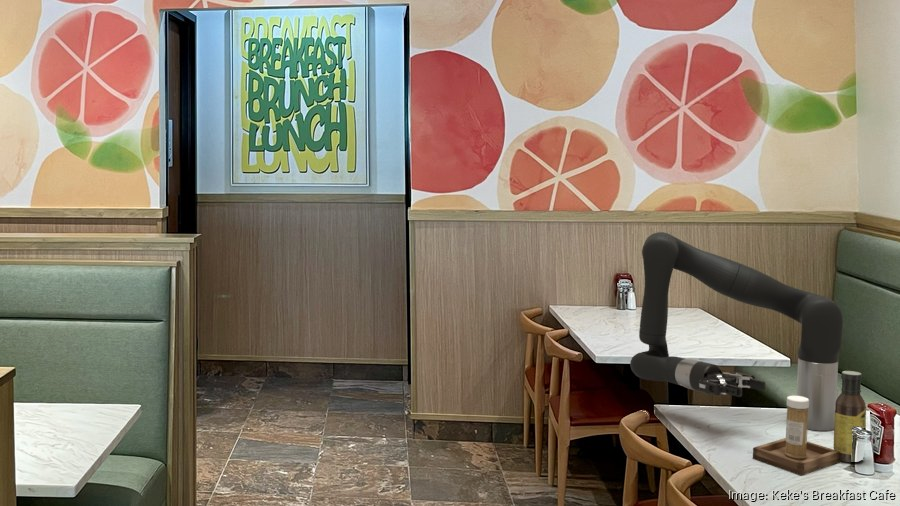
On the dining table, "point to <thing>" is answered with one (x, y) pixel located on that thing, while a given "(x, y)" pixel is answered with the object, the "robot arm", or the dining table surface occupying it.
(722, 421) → the dining table surface
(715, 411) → the dining table surface
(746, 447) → the dining table surface
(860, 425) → the sauce bottle
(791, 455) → the sprinkles bottle
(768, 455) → the tray
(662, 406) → the dining table surface
